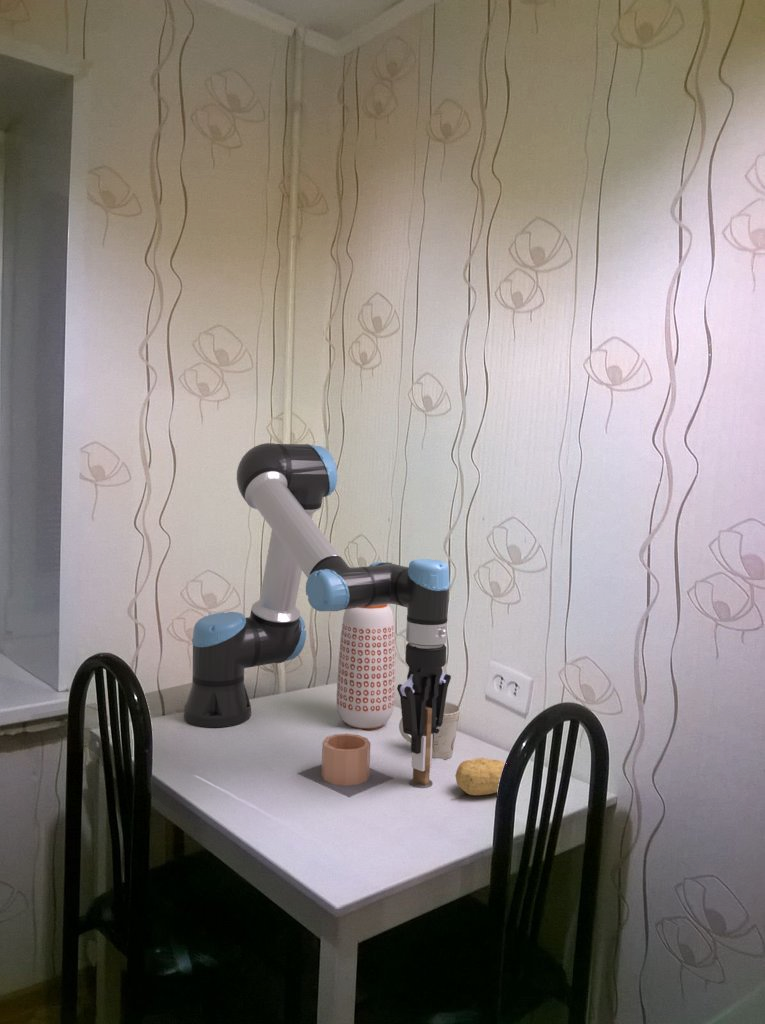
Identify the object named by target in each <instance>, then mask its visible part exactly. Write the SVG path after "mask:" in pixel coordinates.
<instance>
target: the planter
mask: <svg viewBox="0 0 765 1024" xmlns="http://www.w3.org/2000/svg"><path fill="white" fill-rule="evenodd" d="M394 619H395V618H394V613H393V610H392V608H391V606H389V604H384V605H376V606H368V607H358V608H351V609H345V610H344V611H343V617H342V624H341V625H342V626H341V633H340V643H339V651H338V652H339V654H338V667H337V670H338V671H337V680H336V681H337V682H336V683H337V684H336V686H337V687H336V708H337V711H338V715H339V717H340V718H341V719H342V721H343V722H344V723H345V724H346V725H347V726H348V727H350V728H352V729H353V728H354V729H360V730H363V731H374V730H378V729H380V728H383V727H384V725H385V724H386V723H387V722H388V721H389V720H390V719H391V716H392V715H393V713H394V709H395V704H396V640H395V638H396V637H395V621H394Z"/></svg>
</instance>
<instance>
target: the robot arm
mask: <svg viewBox="0 0 765 1024" xmlns="http://www.w3.org/2000/svg"><path fill="white" fill-rule="evenodd" d="M240 459H241V460H240V461H239V463H238V466H237V469H236V482H237V483H236V484H237V488H238V491H239V493H240V495H241V497H242V498H243V500H244V501H245V502H246V504H247V505H248V506H249V508H252V509H254V510H257V511H258V512H259V513H260V515H261V516H262V517H263V520H265V522H266V523H267V524H268V526H269V527H270V528H271V532H270V538H269V539H270V540H269V543H268V550H267V554H266V555H267V556H266V562H265V567H264V573H263V577H262V578H263V579H262V584H261V589H260V595H259V600H256V601H254V603H252V605H251V609H250V614H249V616H247V617H246V616H245V615H244V614H243V613H242V612H236V611H228V612H218V613H213V614H208V615H206V616H203V617H201V618H200V619H199V620H197V621H196V622H195V624H194V626H193V633H192V639H191V641H192V678H191V679H192V685H191V688H190V690H189V693H188V696H187V700H186V703H185V705H184V708H183V719H184V721H185V722H186V723H188V724H190V725H193V726H197V727H203V728H223V727H225V728H226V727H230V726H231V727H232V726H236V725H239V724H242V723H245V722H247V721H248V720H249V719H250V718H251V717H252V704H251V702H250V698H249V696H248V692H247V689H246V684H245V669H247V668H248V669H249V668H253V667H259V666H264V665H271V664H282V663H285V662H287V661H291V660H294V659H296V658H297V657H298V656H299V655H300V654H301V652H302V651H303V649H304V647H305V644H306V639H307V630H305V627H306V624H305V621H304V619H303V617H302V616H301V613H300V612H301V611H300V610H299V608H298V607H297V606H296V603H297V599H298V593H299V588H300V583H301V582H300V581H301V577H302V572H303V574H304V575H305V577H306V578H307V579H306V583H305V595H306V596H307V601H308V604H309V605H310V606H311V607H312V609H314V610H315V611H317V612H340V611H343V610H344V611H345V609H351V608H358V607H368V606H376V605H384V604H387V605H397V606H400V607H403V608H404V607H405V608H406V610H407V613H406V614H407V615H406V628H405V629H406V630H405V631H406V632H405V640H406V642H407V644H406V645H405V659H404V661H405V663H406V665H407V666H408V672H407V674H406V681H405V682H404V684H401V683H399V684H397V687H396V690H397V692H398V695H399V697H400V710H401V718H402V722H403V732H404V733H406V734H408V736H409V735H410V736H411V737H410V738H411V743H410V744H411V745H410V752H411V768H412V769H413V768H415V769H417V770H420V771H422V772H423V771H425V758H426V736H424V735H423V734H424V721H425V708H426V706H427V707H430V708H432V724H431V749H430V769H431V768H432V765H433V762H432V761H433V758H432V748H433V743H434V733H436V734H437V733H438V732H439V729H436V728H437V727H441V725H442V721H443V715H444V708H445V702H447V700H446V699H447V694H448V688H449V684H450V682H451V680H452V676H451V675H450V674H449V673H448V674H447V673H445V672H443V668H444V666H445V665H446V663H447V646H446V645H445V644H446V643H447V640H448V639H447V632H448V613H449V612H448V610H449V595H450V587H451V586H450V585H451V584H450V583H451V582H450V568H449V567H450V566H449V565H448V563H447V562H445V561H443V560H440V559H432V558H431V559H430V558H418V559H417V558H416V559H413V560H411V561H409V564H408V566H403V565H401V564H400V565H399V564H395V563H392V562H389V561H386V562H385V561H383V562H382V561H375V562H372V563H371V564H369V565H368V566H356V567H354V566H353V567H351V566H349V565H348V563H347V562H346V561H345V560H344V559H343V558H342V556H341V554H339V553H338V551H337V549H336V548H335V547H334V546H333V545H332V543H331V542H330V540H329V539H328V538H327V537H326V536H325V534H324V533H323V532H322V530H321V529H320V528H319V526H318V525H317V524H316V522H315V521H314V520H313V516H314V514H315V513H316V512H317V511H319V510H320V509H321V508H322V503H323V500H324V499H323V498H324V497H325V498H326V497H328V496H330V495H332V494H333V493H334V492H335V489H336V488H337V484H338V469H337V466H336V462H335V460H334V457H333V455H332V454H331V452H330V451H329V450H328V449H326V448H325V447H323V446H320V445H313V444H309V443H303V444H302V443H301V444H300V443H275V442H274V443H273V442H266V443H260V444H257V445H255V446H254V447H252V448H250V449H249V450H248V451H246V453H245V454H244V455H243V456H242V457H241V458H240ZM436 718H437V719H436Z"/></svg>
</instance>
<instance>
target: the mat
mask: <svg viewBox="0 0 765 1024" xmlns="http://www.w3.org/2000/svg"><path fill="white" fill-rule="evenodd" d="M297 775H300V776H302V777H304V778H307V779H309V780H311V781H312V782H315V783H318V784H319V785H322V786H324V787H326V788H328V789H331V790H333V791H335V792H337V793H339V794H341V795H343V796H346V797H348V798H351V797H353V796H355V795H357V794H360V793H362V792H365V791H367V790H369V789H372V788H374V787H376V786H379V785H381V784H383V783H385V782H389V781H391V780H392V779H394V777H393V776H390V775H388V774H386V773H383V772H380V771H378V770H376V769H373V768H371V767H370V775H369V777H368V779H367V781H365V782H363V783H360V784H358V785H348V786H343V785H336V784H332V783H329V782H327V781H325V780H324V779H323V777H322V763H321V764H319V765H315V766H313V767H310V768H308V769H305V770H302V771H300V772H298V773H297Z"/></svg>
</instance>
